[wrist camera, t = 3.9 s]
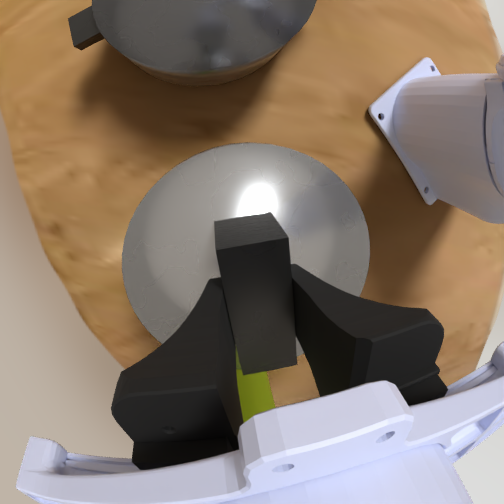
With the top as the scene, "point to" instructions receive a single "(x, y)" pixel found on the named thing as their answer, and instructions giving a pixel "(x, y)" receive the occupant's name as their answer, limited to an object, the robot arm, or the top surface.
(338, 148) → the top surface
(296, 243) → the cooker lid
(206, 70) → the cooker pot
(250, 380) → the soap dispenser
